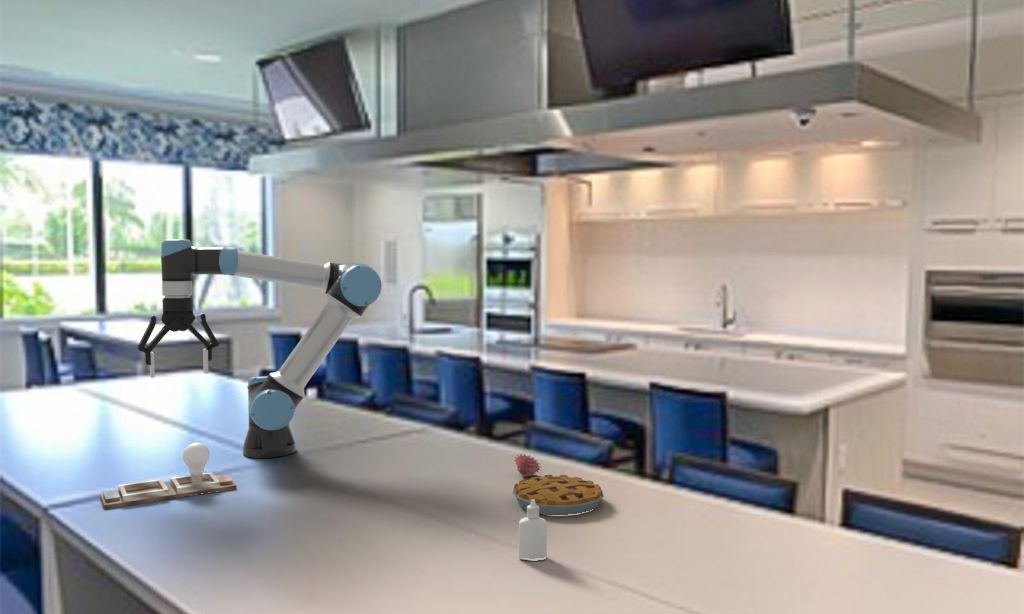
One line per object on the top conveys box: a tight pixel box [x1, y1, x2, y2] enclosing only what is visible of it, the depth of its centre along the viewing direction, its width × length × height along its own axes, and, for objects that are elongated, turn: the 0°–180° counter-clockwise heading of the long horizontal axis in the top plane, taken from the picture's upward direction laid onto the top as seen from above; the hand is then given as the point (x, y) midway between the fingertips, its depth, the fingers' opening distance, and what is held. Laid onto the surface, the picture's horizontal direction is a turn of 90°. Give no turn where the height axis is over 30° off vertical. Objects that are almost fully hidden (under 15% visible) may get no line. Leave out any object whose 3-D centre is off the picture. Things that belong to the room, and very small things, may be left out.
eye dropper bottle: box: [518, 499, 548, 559], centre depth 157 cm, size 4×6×12 cm
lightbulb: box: [182, 441, 210, 485], centre depth 200 cm, size 6×6×11 cm
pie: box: [512, 474, 604, 516], centre depth 191 cm, size 22×22×5 cm
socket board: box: [100, 471, 237, 510], centre depth 197 cm, size 30×10×2 cm, turn 122°
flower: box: [514, 453, 542, 478], centre depth 214 cm, size 8×8×6 cm
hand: (179, 374), depth 214 cm, fingers open, 13 cm apart
